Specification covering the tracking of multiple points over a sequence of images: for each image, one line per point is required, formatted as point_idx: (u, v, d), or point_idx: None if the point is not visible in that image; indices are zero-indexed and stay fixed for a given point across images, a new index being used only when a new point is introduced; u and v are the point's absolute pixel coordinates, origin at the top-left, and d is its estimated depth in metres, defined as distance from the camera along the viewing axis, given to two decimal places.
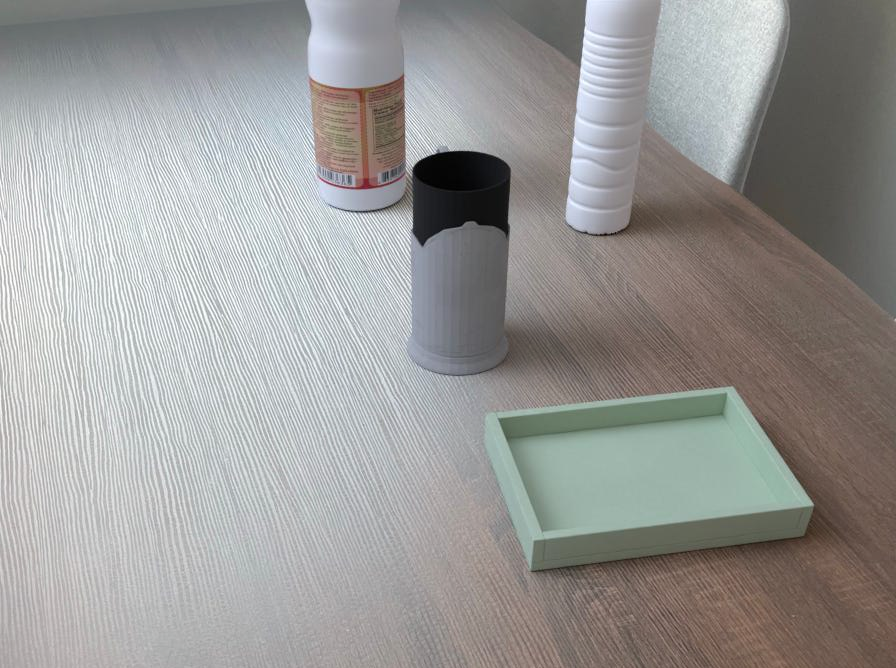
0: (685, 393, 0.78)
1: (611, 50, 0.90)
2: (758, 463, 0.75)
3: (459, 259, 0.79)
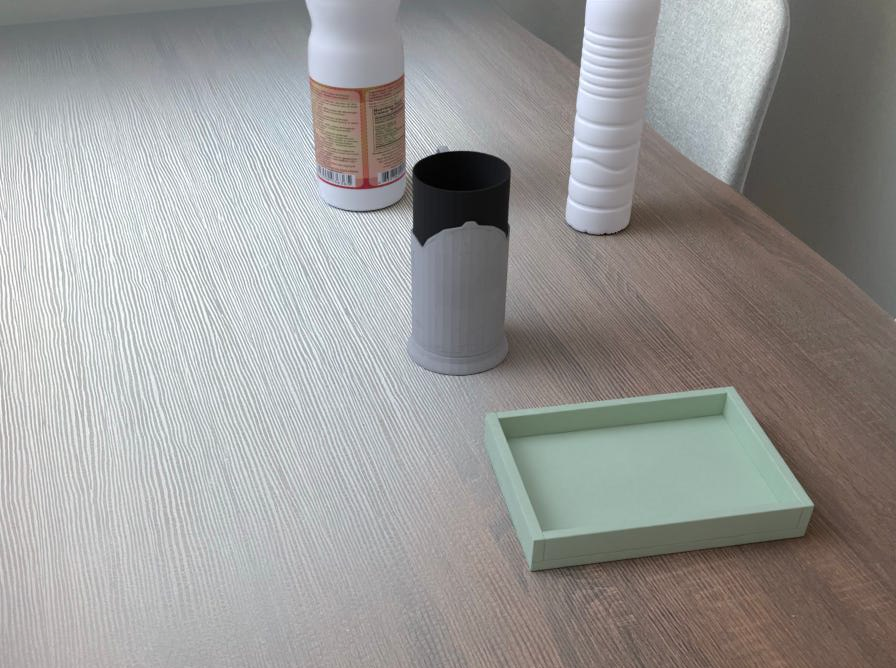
0: (685, 393, 0.78)
1: (611, 50, 0.90)
2: (758, 463, 0.75)
3: (459, 259, 0.79)
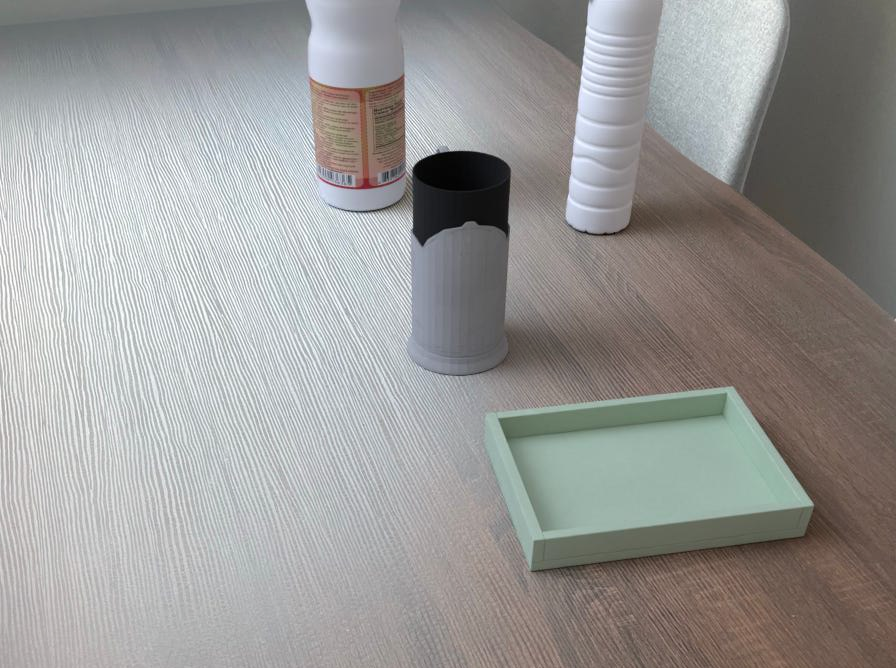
0: (685, 393, 0.78)
1: (613, 49, 0.90)
2: (758, 463, 0.75)
3: (459, 259, 0.79)
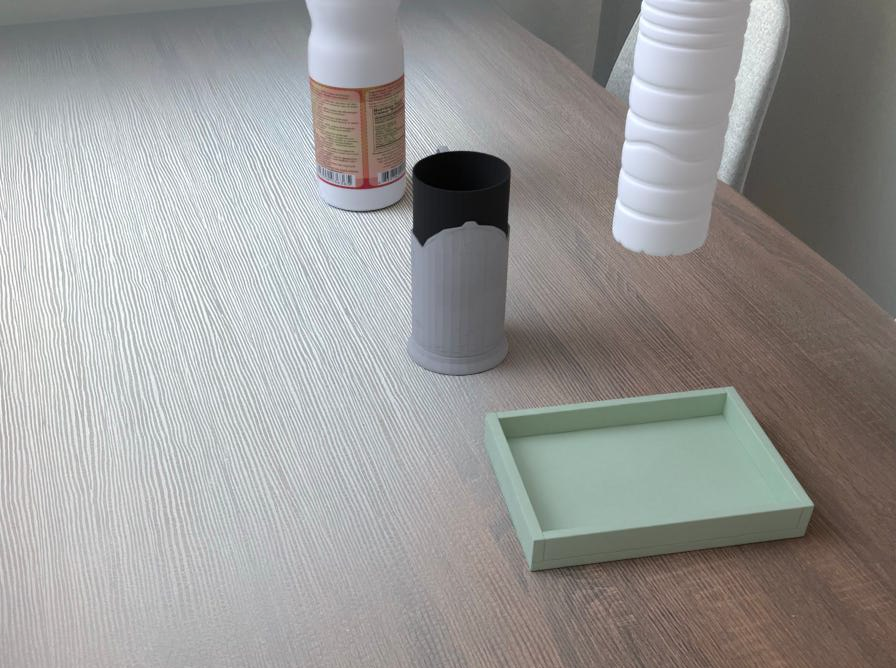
0: (685, 393, 0.78)
1: None
2: (758, 463, 0.75)
3: (459, 259, 0.79)
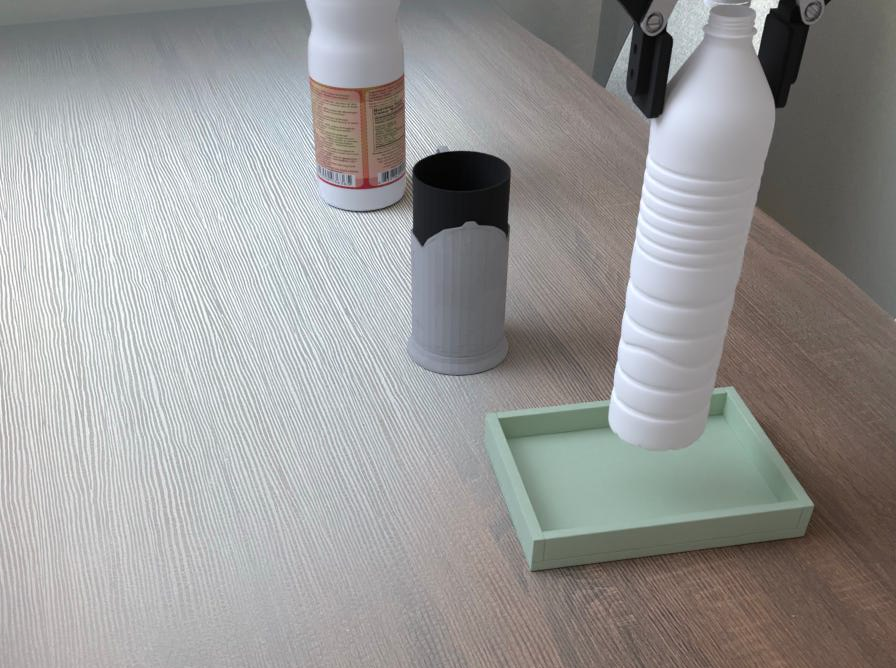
0: None
1: (693, 198, 0.55)
2: (758, 463, 0.75)
3: (459, 259, 0.79)
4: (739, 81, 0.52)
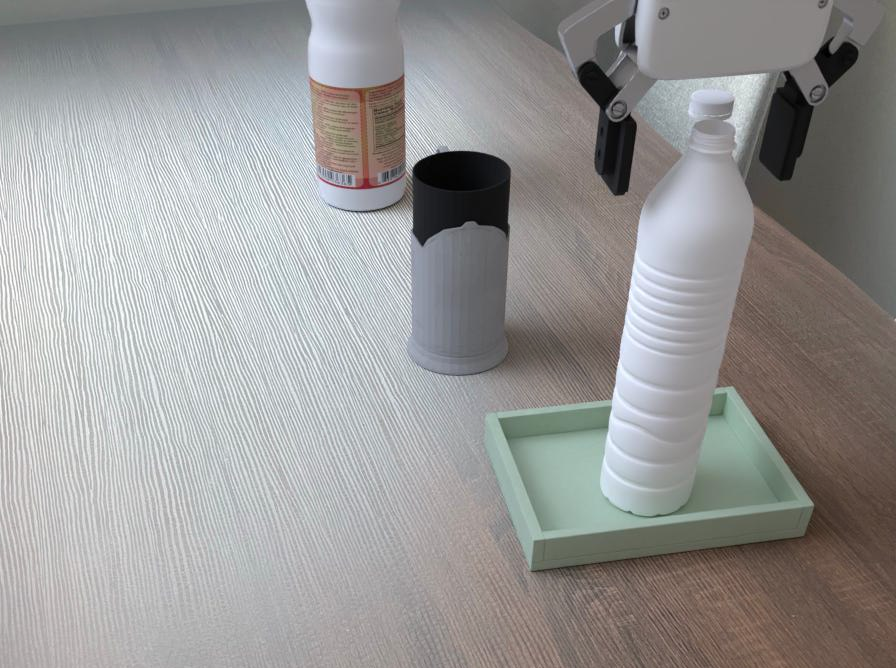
0: None
1: (677, 294, 0.59)
2: (758, 463, 0.75)
3: (459, 259, 0.79)
4: (720, 192, 0.56)
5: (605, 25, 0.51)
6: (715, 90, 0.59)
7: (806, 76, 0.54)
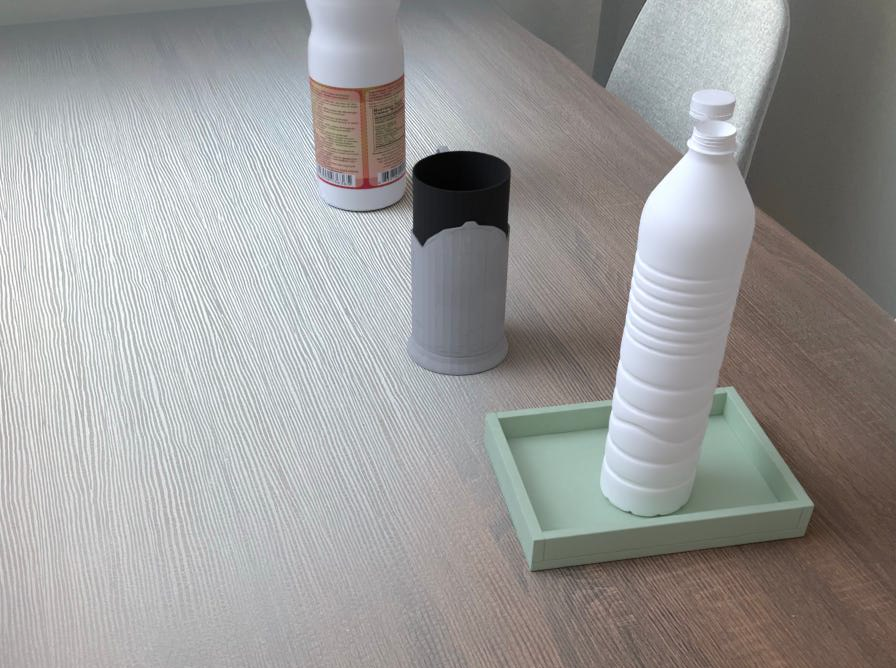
0: None
1: (678, 295, 0.59)
2: (758, 463, 0.75)
3: (459, 259, 0.79)
4: (721, 193, 0.56)
5: None
6: (716, 90, 0.59)
7: None
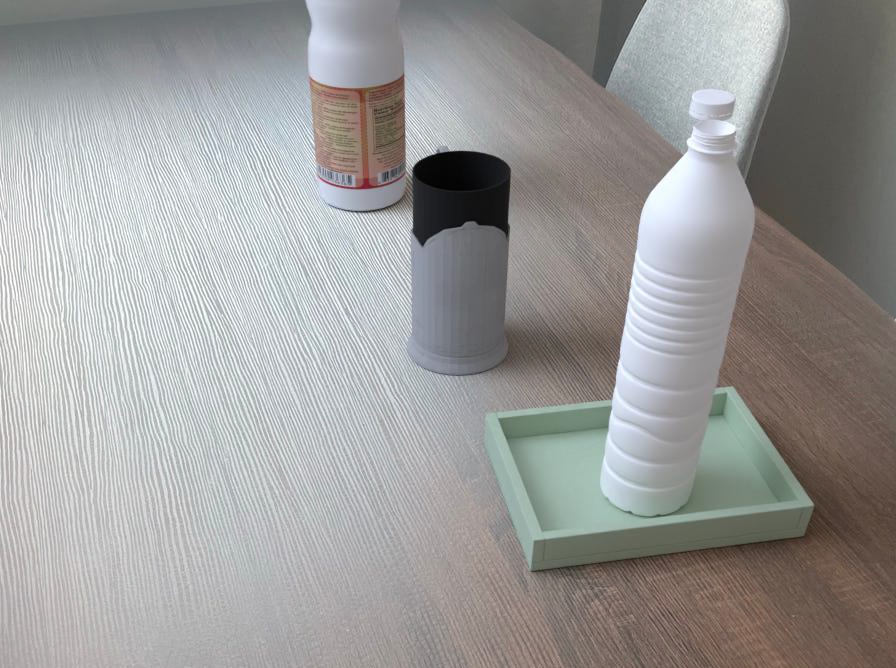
0: None
1: (678, 294, 0.59)
2: (758, 463, 0.75)
3: (459, 259, 0.79)
4: (721, 192, 0.56)
5: None
6: (716, 90, 0.59)
7: None
